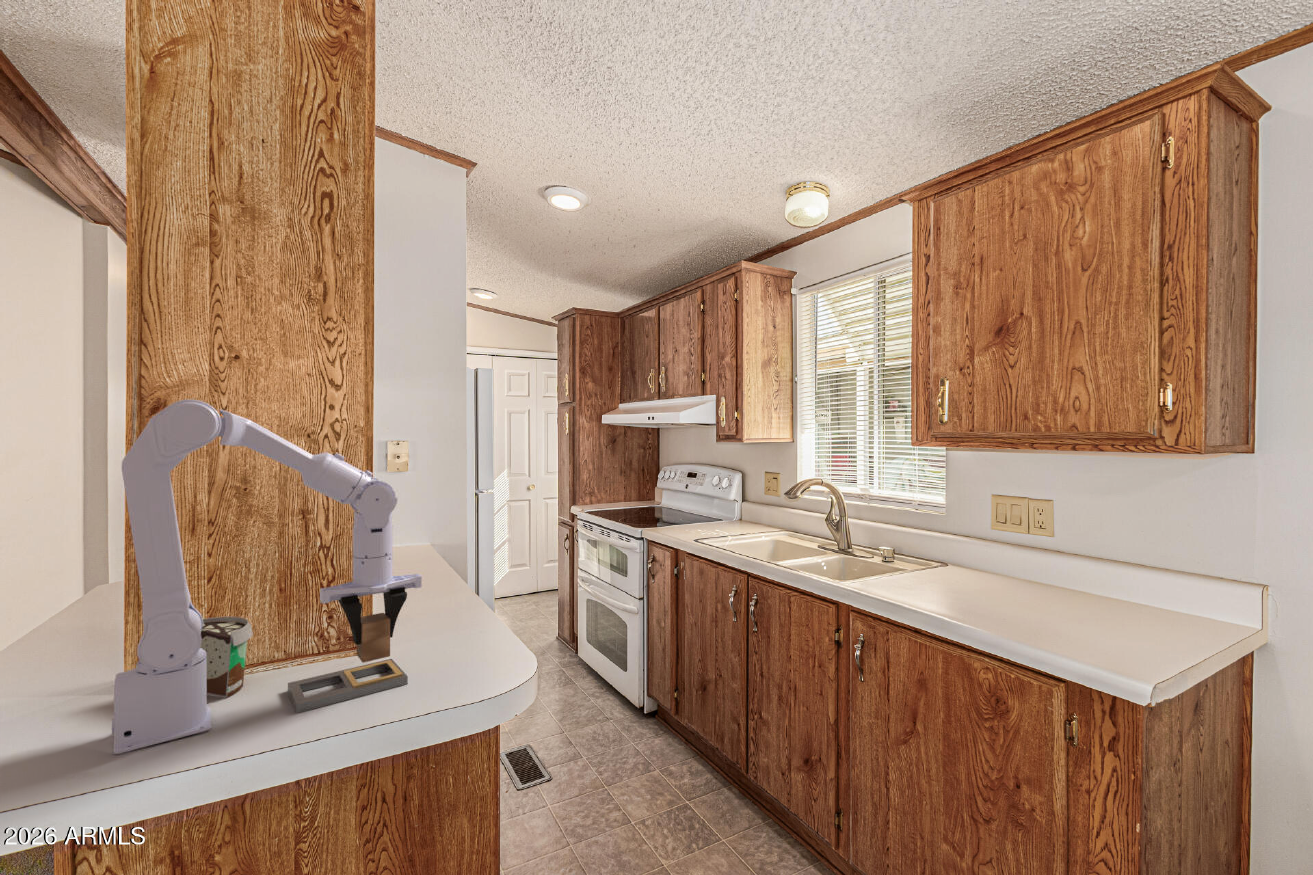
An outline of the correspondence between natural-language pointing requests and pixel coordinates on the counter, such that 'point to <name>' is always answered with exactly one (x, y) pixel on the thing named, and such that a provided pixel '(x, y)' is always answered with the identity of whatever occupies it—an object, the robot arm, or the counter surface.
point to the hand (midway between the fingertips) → (373, 639)
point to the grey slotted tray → (346, 685)
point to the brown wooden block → (374, 637)
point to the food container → (225, 653)
